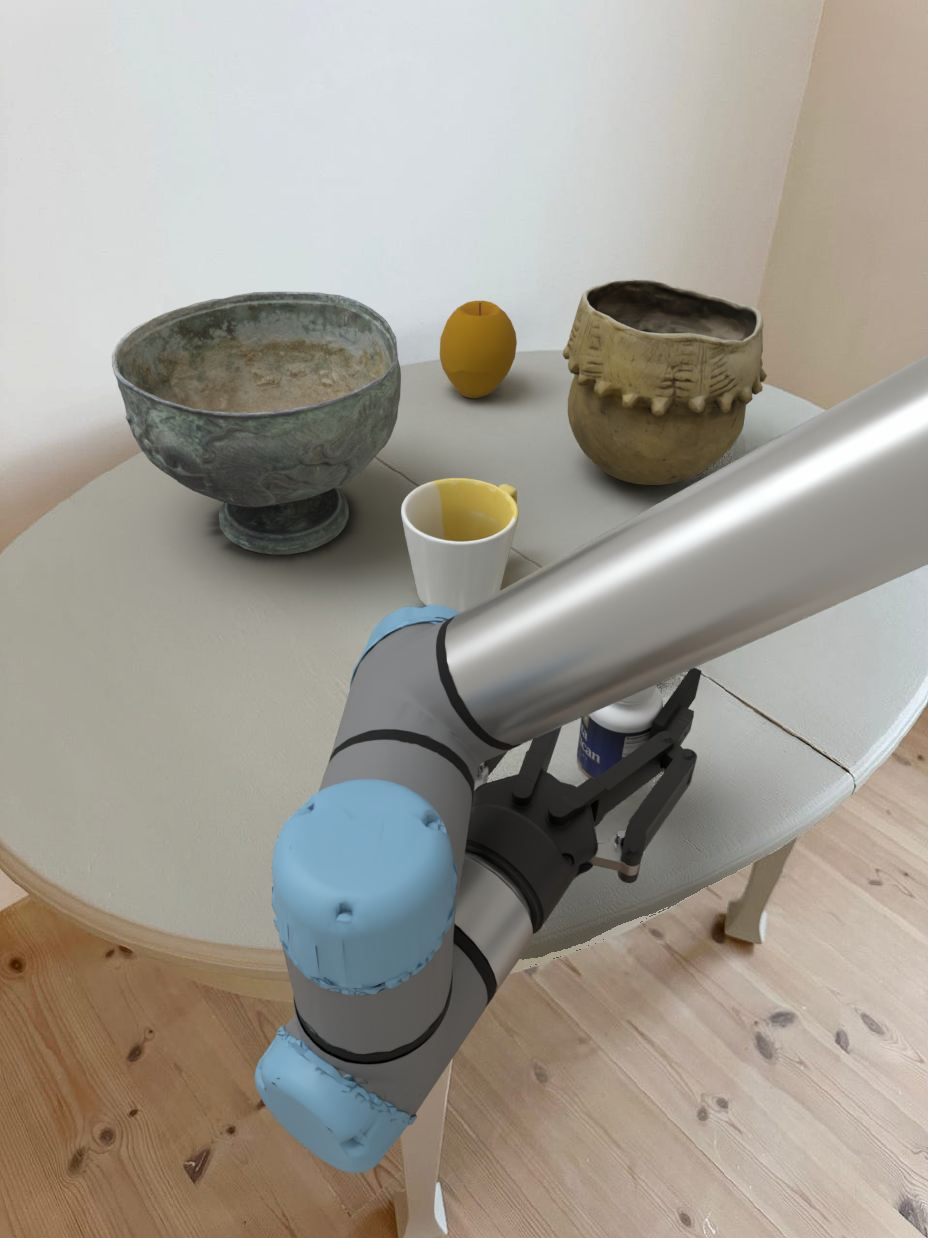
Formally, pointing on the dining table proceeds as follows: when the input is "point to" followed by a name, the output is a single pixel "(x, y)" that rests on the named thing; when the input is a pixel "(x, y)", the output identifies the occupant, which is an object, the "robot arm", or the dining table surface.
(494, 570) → the mug
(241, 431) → the decorative bowl
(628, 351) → the clay pot
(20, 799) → the dining table surface
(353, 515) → the dining table surface
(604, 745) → the pill bottle
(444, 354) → the apple
